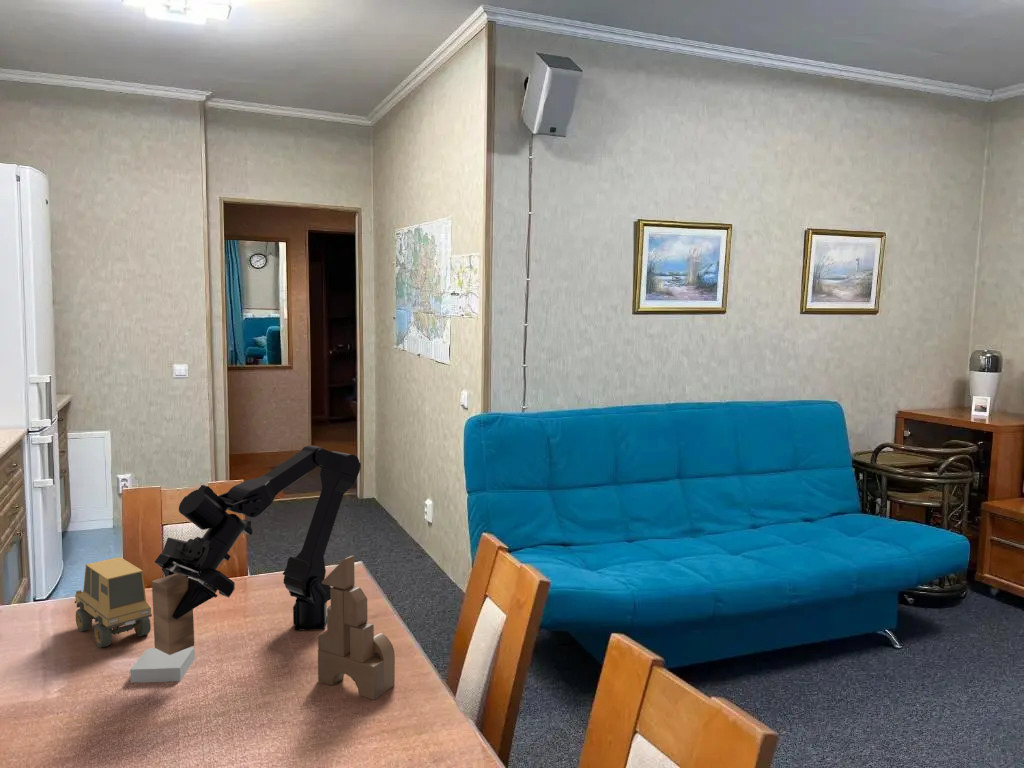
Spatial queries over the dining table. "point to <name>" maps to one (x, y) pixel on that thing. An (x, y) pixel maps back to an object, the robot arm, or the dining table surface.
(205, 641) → the dining table surface
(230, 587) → the robot arm
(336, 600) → the wooden toy
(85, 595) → the toy car
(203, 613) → the dining table surface
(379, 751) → the dining table surface
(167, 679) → the grey block
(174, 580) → the walnut block
